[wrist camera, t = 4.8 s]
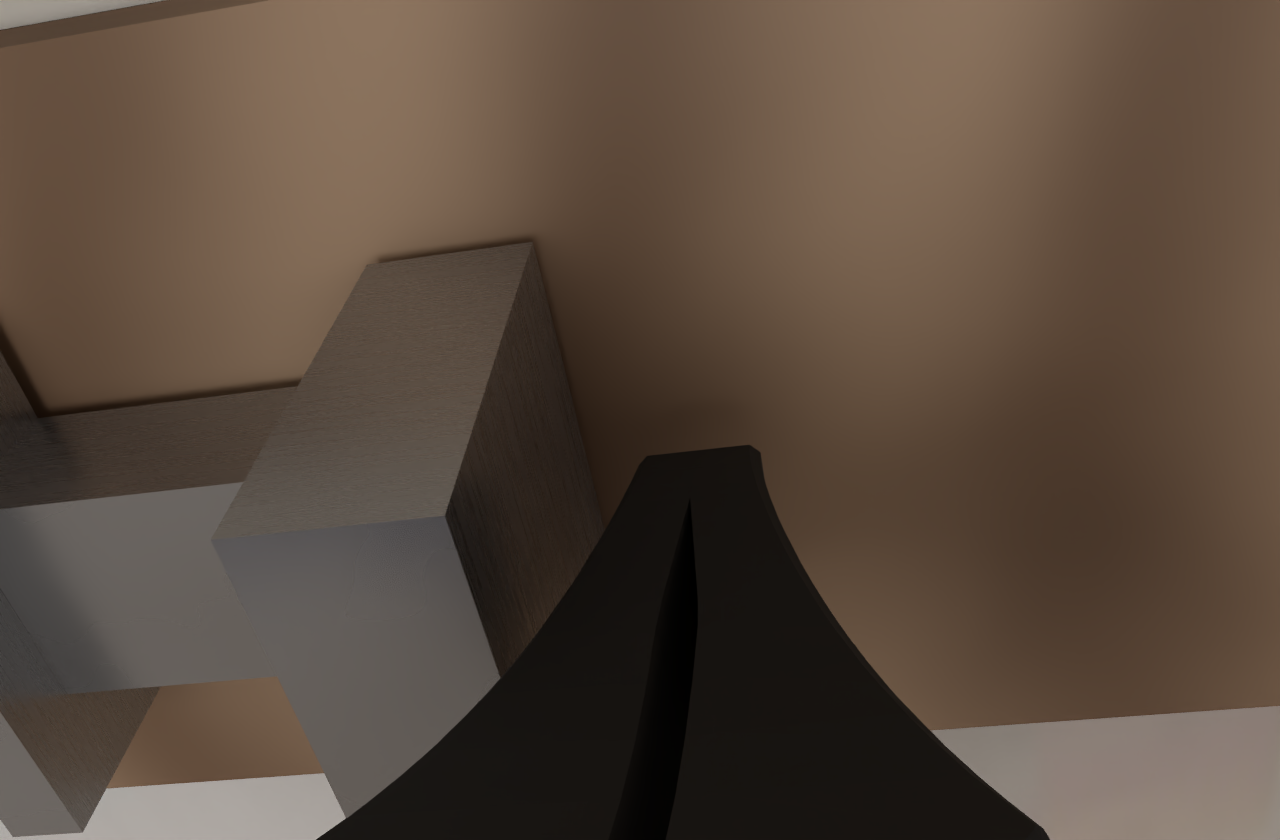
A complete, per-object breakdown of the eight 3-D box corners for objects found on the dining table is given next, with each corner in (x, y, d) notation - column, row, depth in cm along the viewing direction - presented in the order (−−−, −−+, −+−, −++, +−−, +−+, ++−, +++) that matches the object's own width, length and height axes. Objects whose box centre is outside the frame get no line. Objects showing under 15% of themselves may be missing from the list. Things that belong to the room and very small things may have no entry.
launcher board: (1730, -280, 11) (1809, -273, 10) (1468, 639, 18) (1504, 689, 17) (-360, 94, 15) (-426, 123, 14) (67, 747, 21) (40, 793, 20)
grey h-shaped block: (532, 241, 13) (444, 516, 9) (628, 623, 17) (594, 953, 13) (-90, 328, 15) (-412, 605, 11) (112, 669, 18) (-73, 983, 14)
